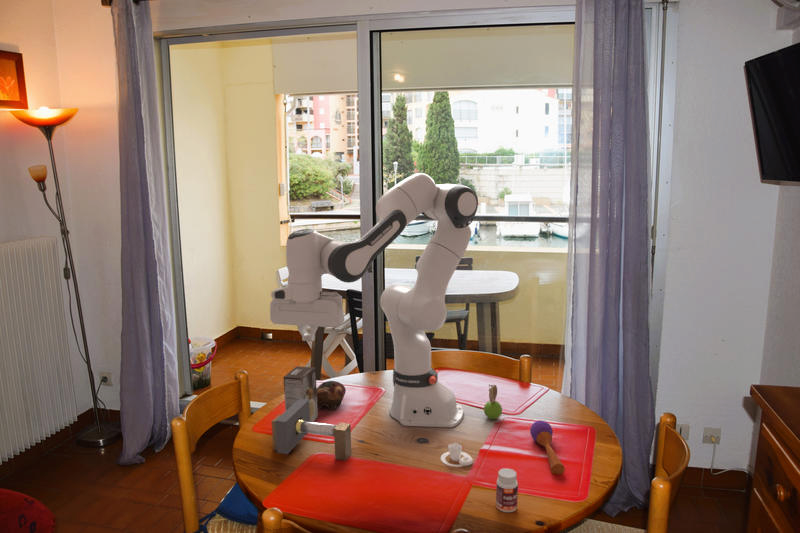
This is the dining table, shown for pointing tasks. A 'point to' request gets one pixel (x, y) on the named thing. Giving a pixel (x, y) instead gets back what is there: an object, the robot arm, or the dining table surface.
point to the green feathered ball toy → (492, 404)
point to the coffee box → (301, 388)
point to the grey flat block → (291, 426)
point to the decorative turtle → (330, 394)
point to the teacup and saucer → (456, 456)
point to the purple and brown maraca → (546, 444)
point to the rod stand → (337, 431)
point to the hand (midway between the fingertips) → (308, 340)
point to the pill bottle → (506, 490)
